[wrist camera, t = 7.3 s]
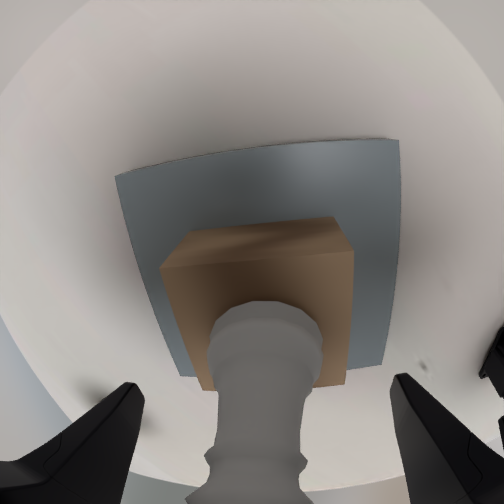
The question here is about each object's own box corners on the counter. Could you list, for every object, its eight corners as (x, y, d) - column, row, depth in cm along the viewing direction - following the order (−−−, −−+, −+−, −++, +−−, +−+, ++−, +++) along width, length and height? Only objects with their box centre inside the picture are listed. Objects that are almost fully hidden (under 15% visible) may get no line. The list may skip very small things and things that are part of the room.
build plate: (387, 138, 12) (398, 140, 11) (376, 349, 18) (381, 364, 16) (128, 171, 14) (114, 176, 13) (185, 361, 20) (180, 376, 18)
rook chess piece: (197, 301, 11) (114, 504, 3) (315, 283, 10) (349, 525, 3) (228, 378, 12) (195, 539, 5) (325, 367, 12) (340, 541, 4)
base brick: (333, 216, 13) (353, 250, 9) (333, 332, 16) (344, 384, 12) (189, 231, 14) (159, 268, 10) (216, 340, 17) (202, 390, 13)
